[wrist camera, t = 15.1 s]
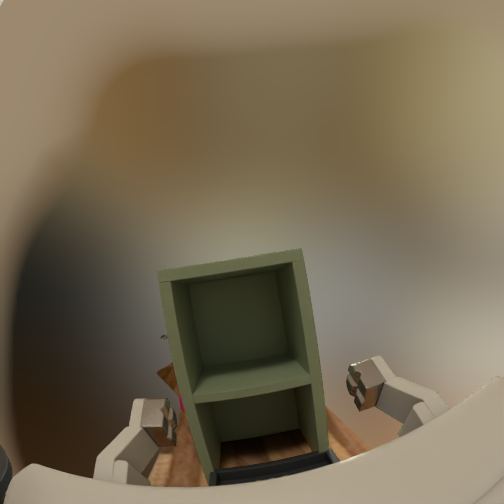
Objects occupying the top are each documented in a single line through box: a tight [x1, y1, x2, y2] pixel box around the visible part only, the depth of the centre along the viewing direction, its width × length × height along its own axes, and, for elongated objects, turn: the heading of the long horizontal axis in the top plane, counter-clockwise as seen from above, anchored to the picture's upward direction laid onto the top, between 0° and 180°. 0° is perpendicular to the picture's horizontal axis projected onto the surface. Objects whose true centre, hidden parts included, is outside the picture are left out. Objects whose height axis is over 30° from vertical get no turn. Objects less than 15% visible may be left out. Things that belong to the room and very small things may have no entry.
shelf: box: [157, 248, 329, 485], centre depth 30 cm, size 14×12×25 cm
